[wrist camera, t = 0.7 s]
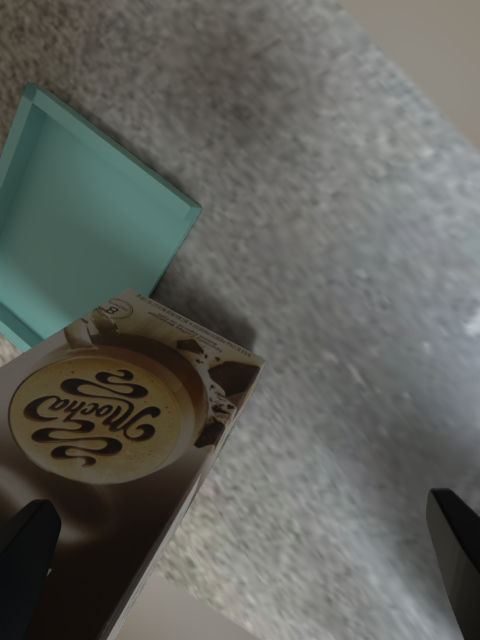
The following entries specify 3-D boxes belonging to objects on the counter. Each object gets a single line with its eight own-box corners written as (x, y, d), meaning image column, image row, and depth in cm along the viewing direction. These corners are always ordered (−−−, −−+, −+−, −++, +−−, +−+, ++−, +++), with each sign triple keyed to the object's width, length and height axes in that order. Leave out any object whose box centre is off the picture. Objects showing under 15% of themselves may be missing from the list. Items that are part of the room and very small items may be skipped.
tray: (202, 208, 21) (191, 207, 20) (92, 392, 27) (77, 401, 25) (48, 90, 23) (27, 80, 21) (-27, 287, 28) (-47, 290, 27)
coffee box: (270, 355, 20) (22, 804, 7) (233, 429, 24) (23, 820, 11) (126, 281, 22) (-311, 546, 8) (112, 361, 25) (-212, 638, 12)
